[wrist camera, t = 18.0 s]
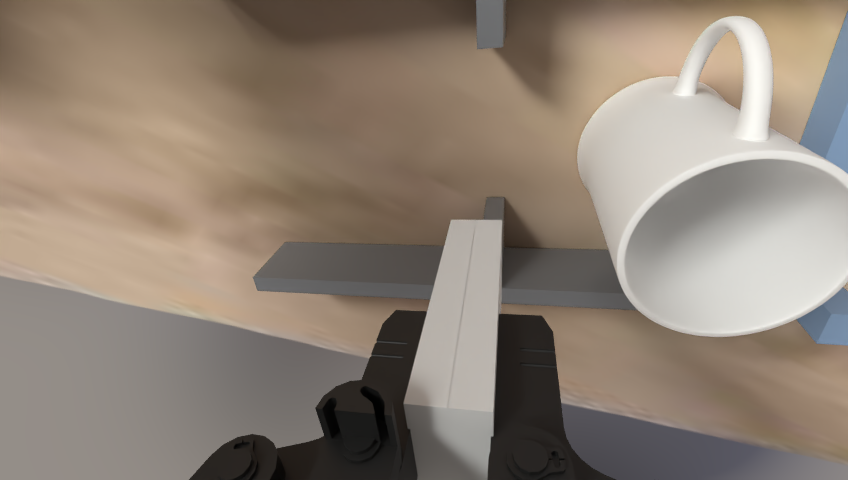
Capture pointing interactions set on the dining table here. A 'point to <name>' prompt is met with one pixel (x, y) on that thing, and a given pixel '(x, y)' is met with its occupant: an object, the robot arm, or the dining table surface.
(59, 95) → the dining table surface
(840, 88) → the blue bezel
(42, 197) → the dining table surface
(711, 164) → the mug
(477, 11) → the grey rectangular frame
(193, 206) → the dining table surface
